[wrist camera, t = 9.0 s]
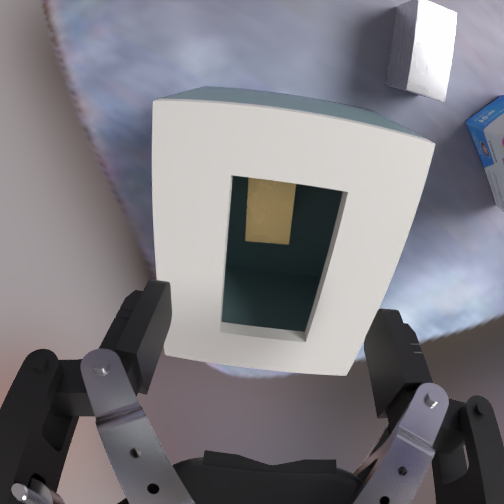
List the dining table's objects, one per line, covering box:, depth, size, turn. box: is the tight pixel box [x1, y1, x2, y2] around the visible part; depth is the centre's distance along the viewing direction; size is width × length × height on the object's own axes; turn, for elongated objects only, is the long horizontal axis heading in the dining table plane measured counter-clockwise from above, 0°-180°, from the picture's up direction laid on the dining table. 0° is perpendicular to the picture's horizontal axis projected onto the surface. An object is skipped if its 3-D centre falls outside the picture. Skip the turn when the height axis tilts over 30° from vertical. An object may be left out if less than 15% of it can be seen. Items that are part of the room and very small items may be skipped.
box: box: [152, 86, 435, 376], centre depth 19 cm, size 14×11×10 cm
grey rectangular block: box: [385, 0, 457, 102], centre depth 15 cm, size 3×6×4 cm, turn 174°
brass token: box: [245, 177, 296, 245], centre depth 20 cm, size 3×6×4 cm, turn 177°
